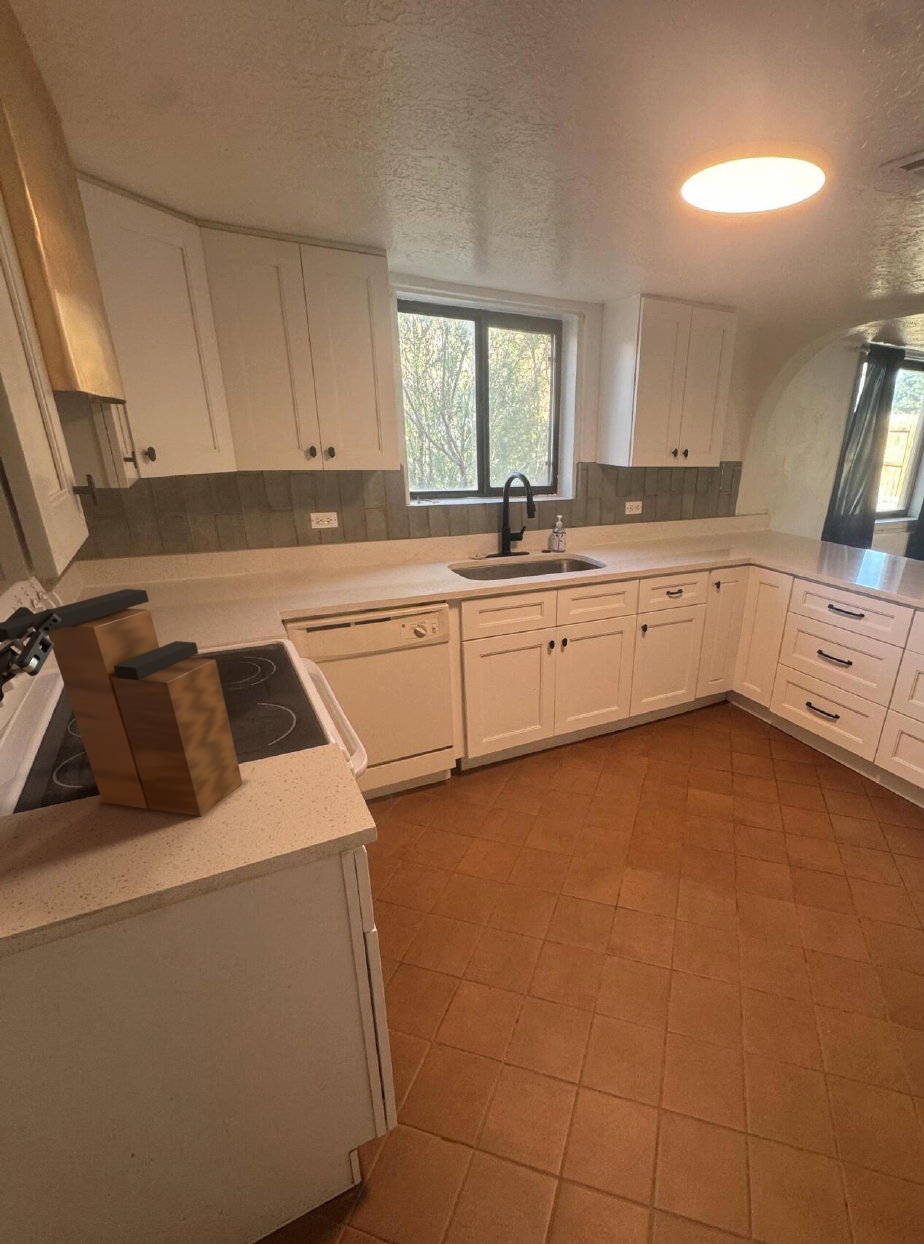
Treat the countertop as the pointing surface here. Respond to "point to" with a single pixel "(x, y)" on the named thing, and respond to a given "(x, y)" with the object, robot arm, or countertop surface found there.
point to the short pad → (155, 660)
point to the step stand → (147, 718)
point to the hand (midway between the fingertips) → (41, 612)
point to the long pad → (78, 611)
